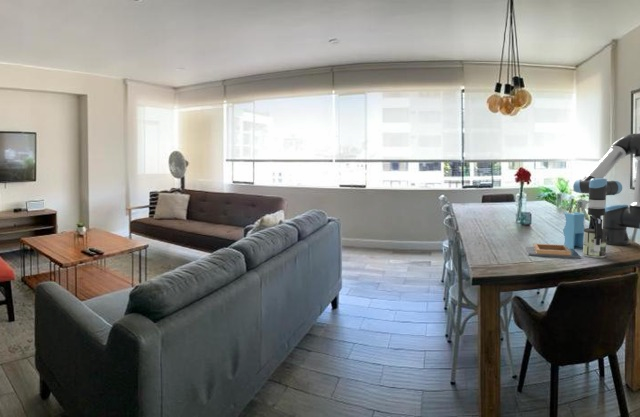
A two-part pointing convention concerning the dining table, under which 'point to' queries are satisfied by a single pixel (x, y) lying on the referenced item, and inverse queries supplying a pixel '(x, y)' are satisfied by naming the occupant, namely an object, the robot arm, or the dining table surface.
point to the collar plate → (552, 251)
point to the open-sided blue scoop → (574, 230)
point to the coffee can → (589, 244)
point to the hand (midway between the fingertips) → (594, 248)
